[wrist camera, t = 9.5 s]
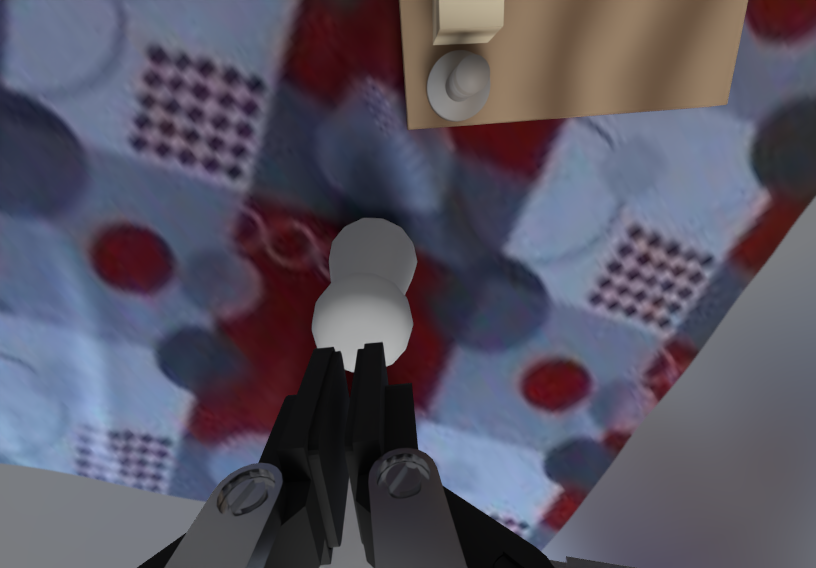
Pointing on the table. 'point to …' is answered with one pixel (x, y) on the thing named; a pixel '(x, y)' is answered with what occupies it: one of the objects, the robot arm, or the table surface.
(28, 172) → the table surface
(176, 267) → the table surface
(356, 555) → the milk bottle
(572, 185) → the table surface
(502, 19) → the leg
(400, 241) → the salt shaker
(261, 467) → the robot arm
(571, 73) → the wooden activity board
